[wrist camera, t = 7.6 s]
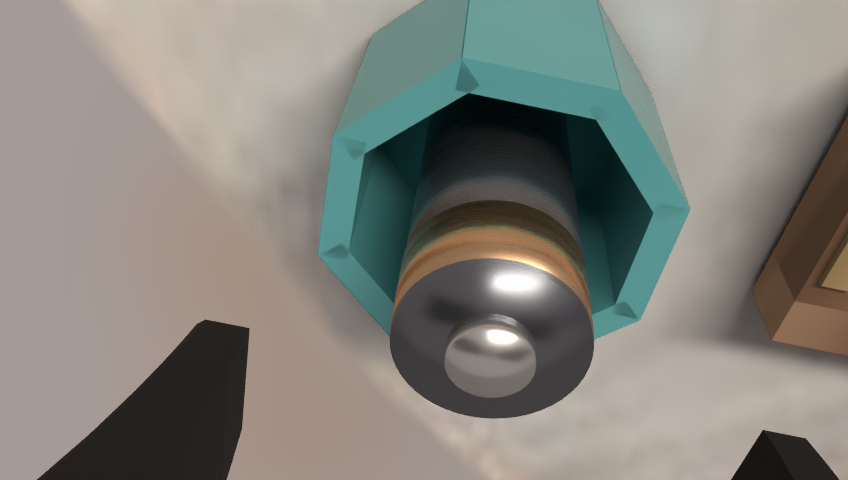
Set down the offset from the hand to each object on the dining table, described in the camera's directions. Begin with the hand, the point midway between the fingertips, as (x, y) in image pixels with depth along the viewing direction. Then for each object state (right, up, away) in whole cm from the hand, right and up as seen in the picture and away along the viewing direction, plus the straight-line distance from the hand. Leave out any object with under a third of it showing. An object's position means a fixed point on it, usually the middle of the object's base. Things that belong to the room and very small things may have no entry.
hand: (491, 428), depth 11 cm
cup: (+1, +6, +8) cm, 10 cm away
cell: (+1, +5, +8) cm, 9 cm away
